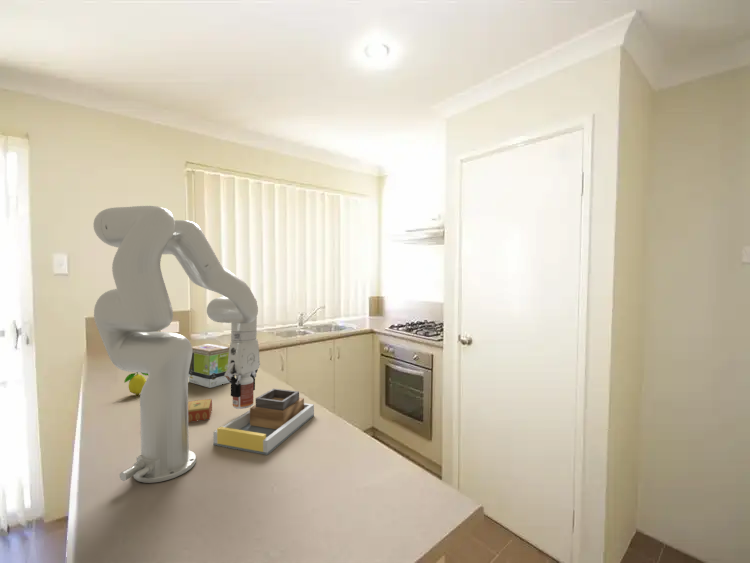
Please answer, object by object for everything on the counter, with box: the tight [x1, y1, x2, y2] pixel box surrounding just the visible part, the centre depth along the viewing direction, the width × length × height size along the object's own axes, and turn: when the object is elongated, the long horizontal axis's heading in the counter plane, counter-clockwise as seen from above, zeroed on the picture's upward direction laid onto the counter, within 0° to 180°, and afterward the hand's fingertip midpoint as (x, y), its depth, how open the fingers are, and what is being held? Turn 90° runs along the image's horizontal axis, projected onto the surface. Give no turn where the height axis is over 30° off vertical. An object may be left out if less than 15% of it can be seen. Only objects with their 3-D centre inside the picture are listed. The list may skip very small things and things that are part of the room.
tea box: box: [188, 343, 230, 389], centre depth 144 cm, size 15×10×15 cm
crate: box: [249, 388, 305, 429], centre depth 107 cm, size 12×11×8 cm
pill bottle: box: [232, 372, 254, 410], centre depth 111 cm, size 6×6×11 cm
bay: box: [213, 402, 315, 456], centre depth 102 cm, size 25×16×5 cm, turn 163°
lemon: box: [123, 372, 148, 396], centre depth 130 cm, size 7×6×10 cm
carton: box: [188, 398, 213, 423], centre depth 109 cm, size 8×16×4 cm, turn 110°
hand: (243, 392), depth 111 cm, fingers closed on pill bottle, 6 cm apart
